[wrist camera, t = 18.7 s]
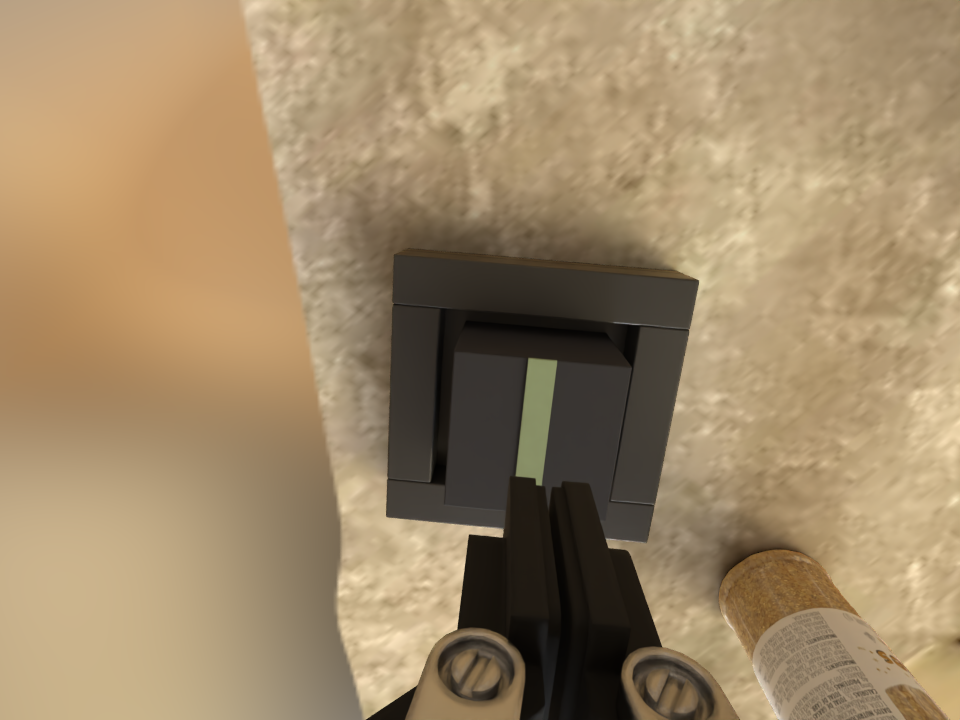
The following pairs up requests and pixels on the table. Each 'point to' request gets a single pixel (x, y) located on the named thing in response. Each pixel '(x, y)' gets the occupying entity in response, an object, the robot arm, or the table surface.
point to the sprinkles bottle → (815, 645)
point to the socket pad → (539, 303)
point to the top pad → (533, 412)
